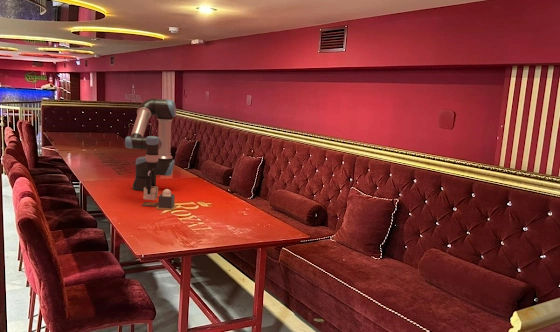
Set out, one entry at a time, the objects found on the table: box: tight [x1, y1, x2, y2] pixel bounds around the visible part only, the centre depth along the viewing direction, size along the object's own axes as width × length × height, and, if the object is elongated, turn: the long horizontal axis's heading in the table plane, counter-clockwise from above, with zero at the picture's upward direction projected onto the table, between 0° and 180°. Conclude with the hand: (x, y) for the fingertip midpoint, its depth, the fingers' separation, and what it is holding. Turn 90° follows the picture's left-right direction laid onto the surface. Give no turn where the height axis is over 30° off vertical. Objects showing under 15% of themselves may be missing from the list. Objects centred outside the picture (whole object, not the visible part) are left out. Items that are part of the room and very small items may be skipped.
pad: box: [141, 201, 158, 208], centre depth 294 cm, size 9×9×1 cm
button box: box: [155, 193, 177, 211], centre depth 289 cm, size 10×10×8 cm
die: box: [142, 185, 159, 201], centre depth 293 cm, size 7×7×7 cm
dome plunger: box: [162, 188, 172, 197], centre depth 289 cm, size 5×5×10 cm
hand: (150, 197), depth 293 cm, fingers closed on die, 7 cm apart
